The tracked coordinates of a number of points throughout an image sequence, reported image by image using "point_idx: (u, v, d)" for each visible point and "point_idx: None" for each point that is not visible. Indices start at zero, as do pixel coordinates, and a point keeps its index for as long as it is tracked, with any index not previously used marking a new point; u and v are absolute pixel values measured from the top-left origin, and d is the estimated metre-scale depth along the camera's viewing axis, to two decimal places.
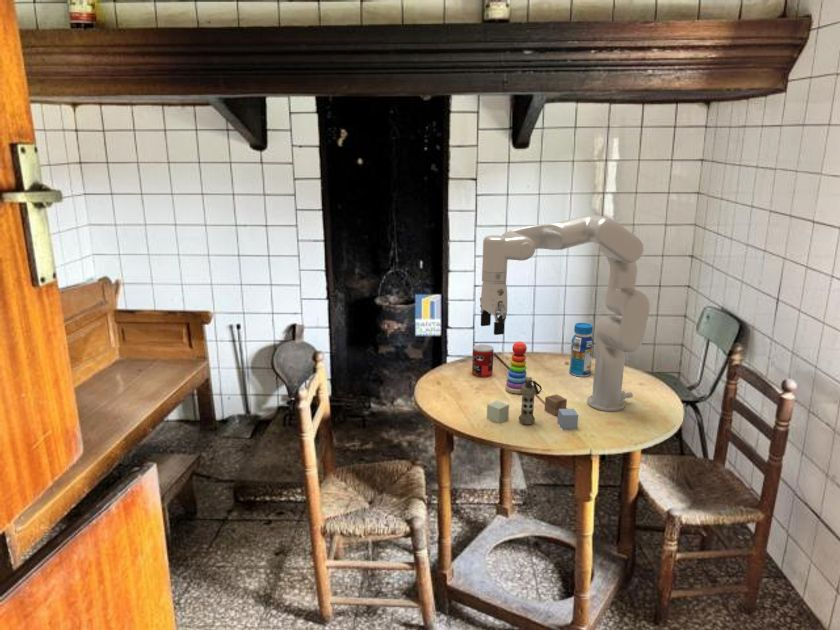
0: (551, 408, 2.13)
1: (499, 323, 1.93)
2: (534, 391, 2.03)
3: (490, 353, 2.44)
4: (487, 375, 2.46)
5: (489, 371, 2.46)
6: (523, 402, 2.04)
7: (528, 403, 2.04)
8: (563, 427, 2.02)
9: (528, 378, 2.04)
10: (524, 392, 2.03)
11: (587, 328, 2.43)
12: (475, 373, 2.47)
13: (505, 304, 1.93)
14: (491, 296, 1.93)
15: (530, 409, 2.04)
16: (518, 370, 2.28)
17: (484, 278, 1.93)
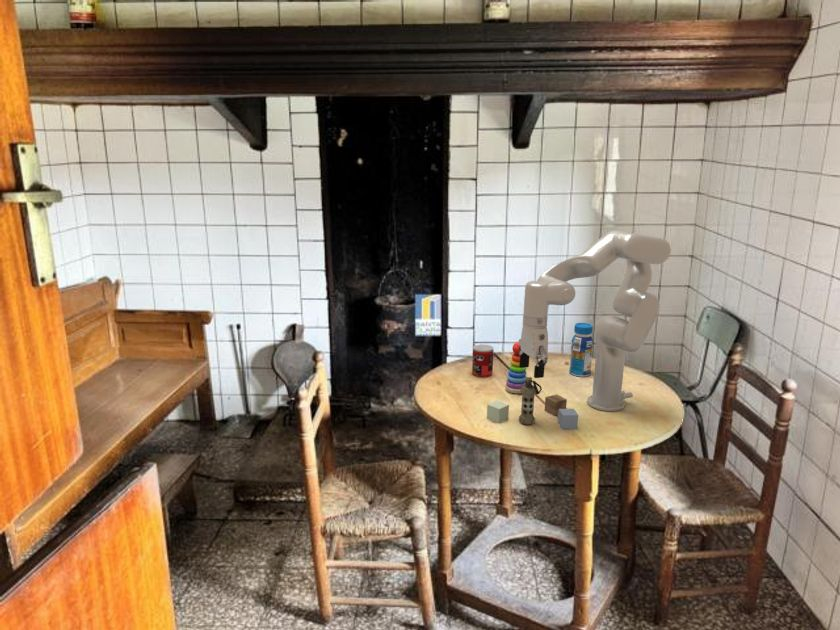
0: (551, 408, 2.13)
1: (540, 367, 1.97)
2: (534, 391, 2.03)
3: (490, 353, 2.44)
4: (487, 375, 2.46)
5: (489, 371, 2.46)
6: (523, 402, 2.04)
7: (528, 403, 2.04)
8: (563, 427, 2.02)
9: (528, 378, 2.04)
10: (524, 392, 2.03)
11: (587, 328, 2.43)
12: (475, 373, 2.47)
13: (546, 348, 1.97)
14: (532, 341, 1.97)
15: (530, 409, 2.04)
16: (518, 370, 2.28)
17: (525, 323, 1.97)
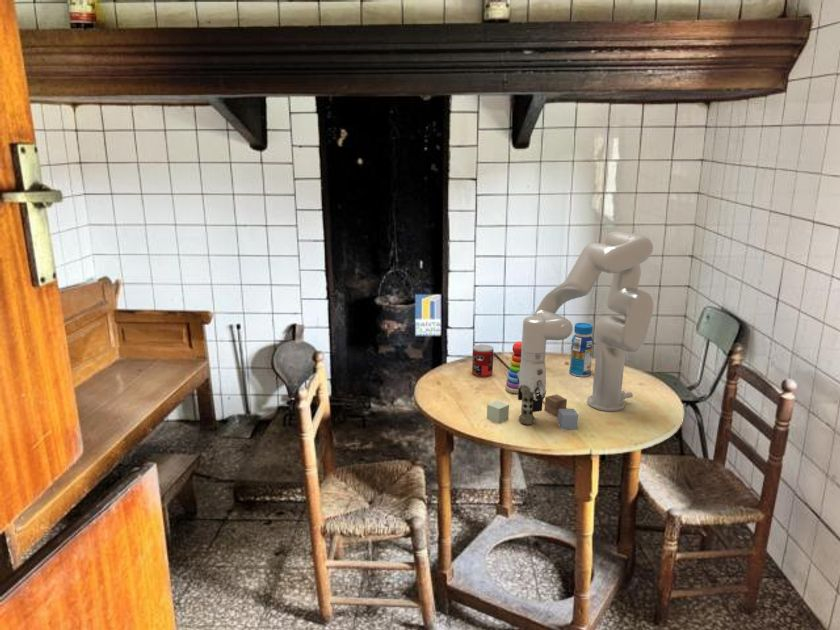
0: (551, 408, 2.13)
1: (538, 401, 2.00)
2: None
3: (490, 353, 2.44)
4: (487, 375, 2.46)
5: (489, 371, 2.46)
6: (523, 402, 2.04)
7: (528, 403, 2.04)
8: (563, 427, 2.02)
9: None
10: (524, 392, 2.03)
11: (587, 328, 2.43)
12: (475, 373, 2.47)
13: (544, 383, 2.00)
14: (530, 376, 2.00)
15: (530, 409, 2.04)
16: (518, 370, 2.28)
17: (523, 358, 2.00)
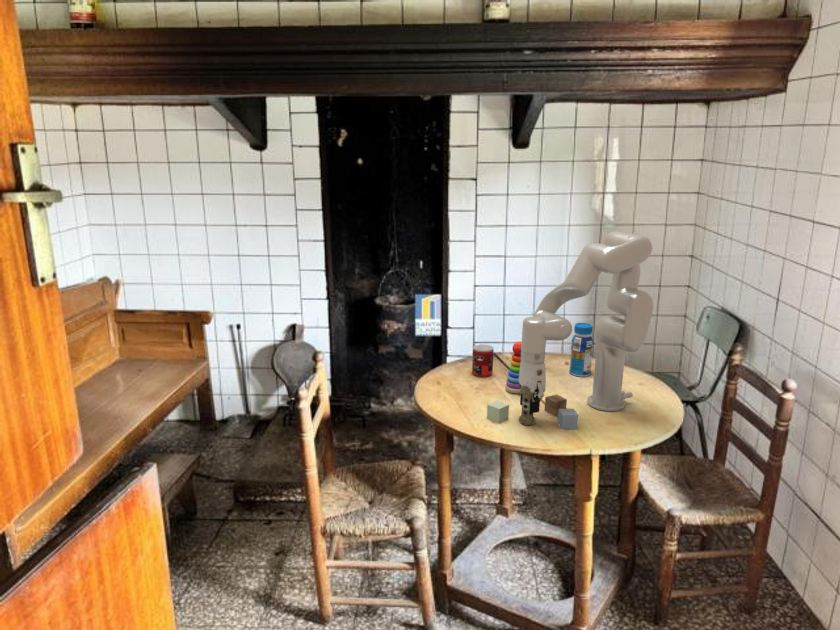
0: (551, 408, 2.13)
1: (535, 402, 2.02)
2: (534, 391, 2.03)
3: (490, 353, 2.44)
4: (487, 375, 2.46)
5: (489, 371, 2.46)
6: (523, 402, 2.04)
7: (528, 403, 2.03)
8: (563, 427, 2.02)
9: None
10: (524, 392, 2.02)
11: (587, 328, 2.43)
12: (475, 373, 2.47)
13: (543, 383, 2.00)
14: (530, 376, 2.00)
15: None
16: (518, 370, 2.28)
17: (523, 358, 2.00)
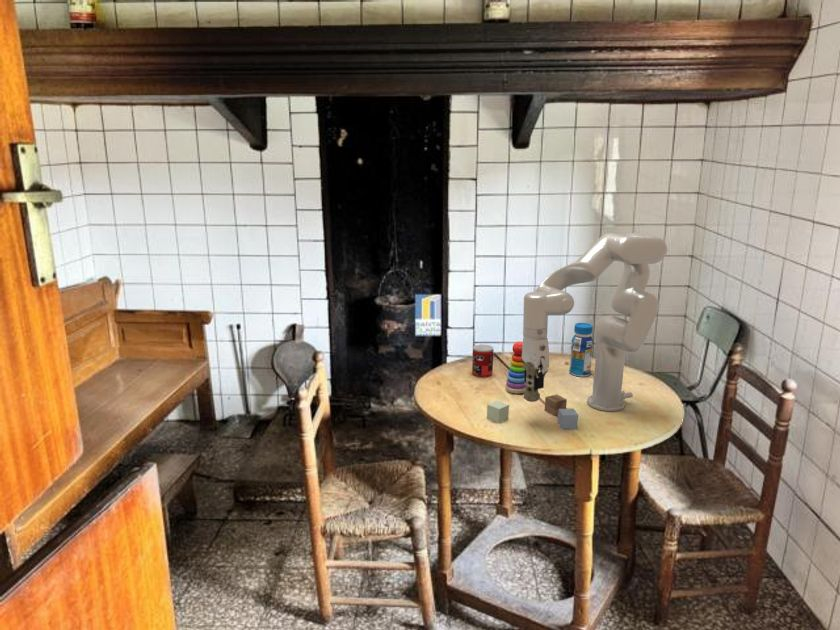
0: (551, 408, 2.13)
1: (539, 378, 2.00)
2: (538, 367, 2.01)
3: (490, 353, 2.44)
4: (487, 375, 2.46)
5: (489, 371, 2.46)
6: (527, 379, 2.02)
7: (532, 380, 2.01)
8: (563, 427, 2.02)
9: None
10: (528, 369, 2.01)
11: (587, 328, 2.43)
12: (475, 373, 2.47)
13: (547, 359, 1.98)
14: (533, 352, 1.98)
15: None
16: (518, 370, 2.28)
17: (526, 334, 1.98)
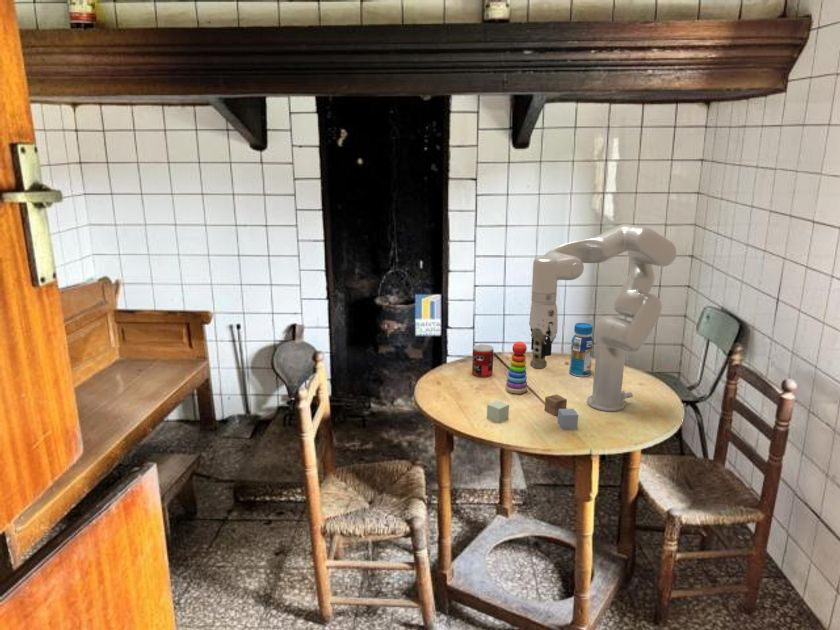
0: (551, 408, 2.13)
1: (547, 345, 1.96)
2: None
3: (490, 353, 2.44)
4: (487, 375, 2.46)
5: (489, 371, 2.46)
6: (534, 346, 1.98)
7: (540, 346, 1.97)
8: (563, 427, 2.02)
9: None
10: (535, 335, 1.96)
11: (587, 328, 2.43)
12: (475, 373, 2.47)
13: (555, 325, 1.94)
14: (541, 317, 1.94)
15: None
16: (518, 370, 2.28)
17: (534, 299, 1.94)
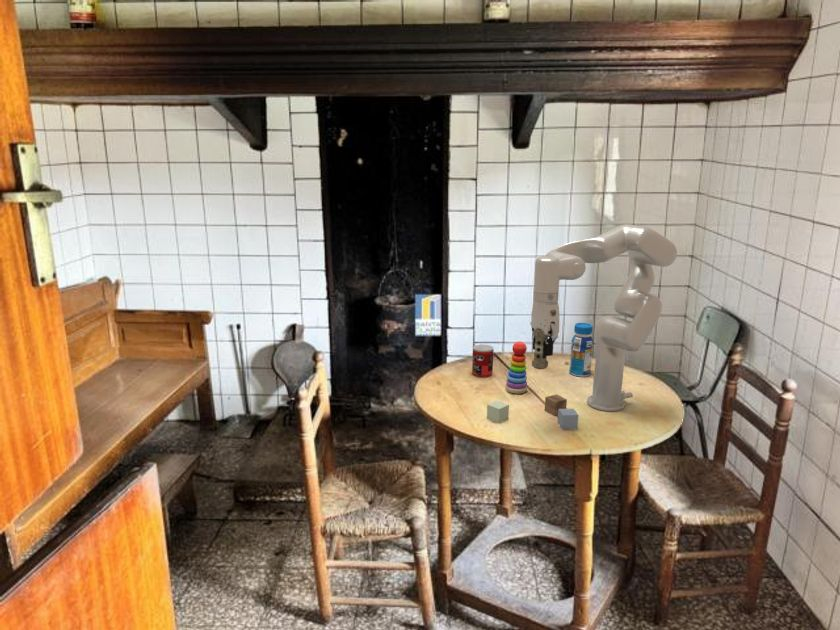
0: (551, 408, 2.13)
1: (548, 345, 1.96)
2: None
3: (490, 353, 2.44)
4: (487, 375, 2.46)
5: (489, 371, 2.46)
6: (536, 346, 1.98)
7: (541, 346, 1.97)
8: (563, 427, 2.02)
9: None
10: (537, 335, 1.96)
11: (587, 328, 2.43)
12: (475, 373, 2.47)
13: (557, 324, 1.94)
14: (543, 317, 1.94)
15: None
16: (518, 370, 2.28)
17: (536, 299, 1.94)
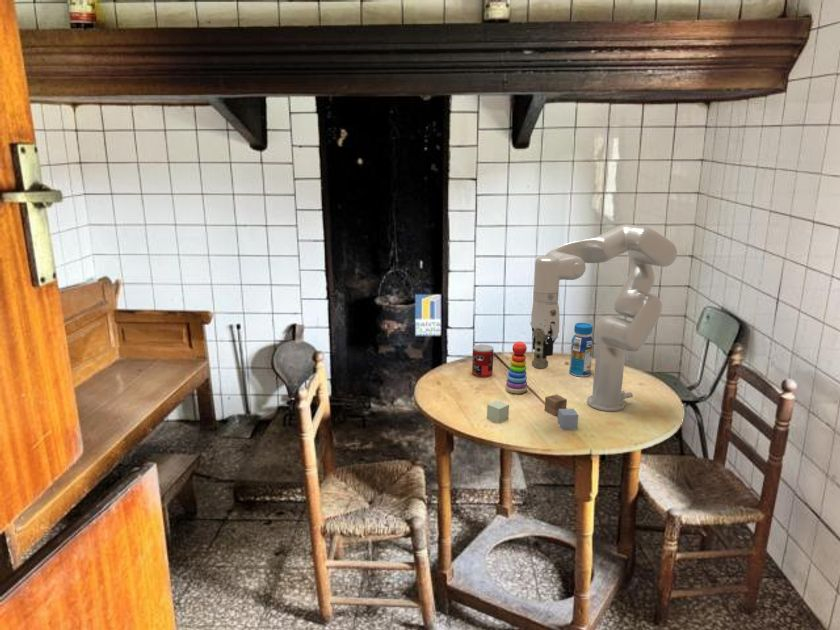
0: (551, 408, 2.13)
1: (548, 345, 1.96)
2: None
3: (490, 353, 2.44)
4: (487, 375, 2.46)
5: (489, 371, 2.46)
6: (536, 346, 1.98)
7: (541, 346, 1.97)
8: (563, 427, 2.02)
9: None
10: (537, 335, 1.96)
11: (587, 328, 2.43)
12: (475, 373, 2.47)
13: (557, 324, 1.94)
14: (543, 317, 1.94)
15: None
16: (518, 370, 2.28)
17: (536, 299, 1.94)
